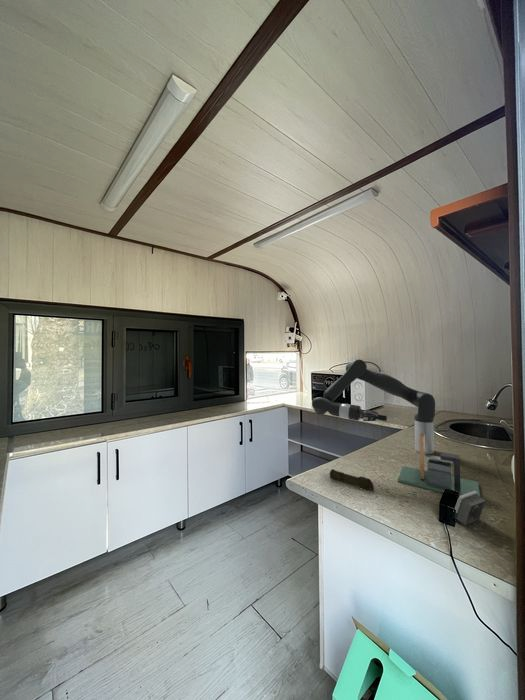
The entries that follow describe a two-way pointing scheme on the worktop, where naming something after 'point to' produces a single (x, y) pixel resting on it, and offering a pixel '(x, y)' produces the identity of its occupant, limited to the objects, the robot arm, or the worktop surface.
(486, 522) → the worktop surface
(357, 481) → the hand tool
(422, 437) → the upright wooden plank
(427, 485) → the base
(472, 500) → the electrical switch
